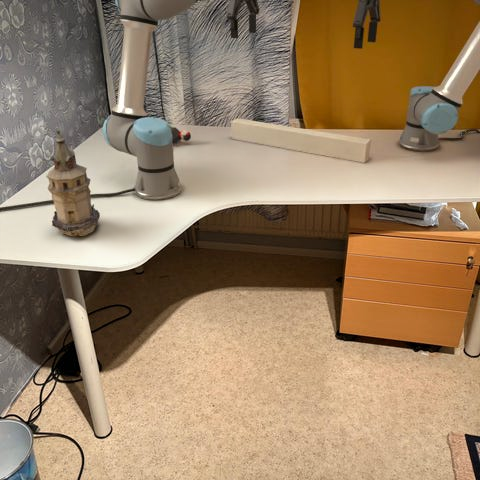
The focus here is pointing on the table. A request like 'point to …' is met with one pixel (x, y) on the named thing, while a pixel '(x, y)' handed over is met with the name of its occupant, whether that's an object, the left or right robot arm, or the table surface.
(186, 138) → the toy
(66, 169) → the miniature building
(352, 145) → the bar
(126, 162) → the table surface
